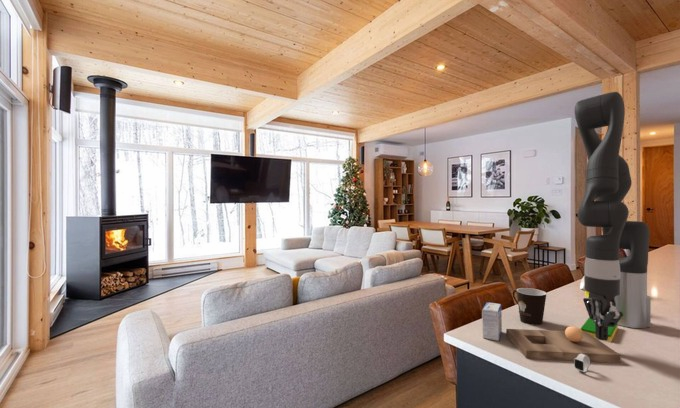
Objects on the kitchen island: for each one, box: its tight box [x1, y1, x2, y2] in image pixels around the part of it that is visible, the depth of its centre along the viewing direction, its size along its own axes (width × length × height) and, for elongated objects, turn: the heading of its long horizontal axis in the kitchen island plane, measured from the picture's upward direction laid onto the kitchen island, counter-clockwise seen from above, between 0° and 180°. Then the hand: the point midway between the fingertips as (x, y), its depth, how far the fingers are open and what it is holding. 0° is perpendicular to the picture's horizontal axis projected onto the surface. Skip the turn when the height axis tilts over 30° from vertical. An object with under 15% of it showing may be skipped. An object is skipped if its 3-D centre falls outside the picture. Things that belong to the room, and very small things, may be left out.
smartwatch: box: [573, 354, 591, 373], centre depth 78 cm, size 4×2×4 cm, turn 118°
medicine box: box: [481, 302, 503, 341], centre depth 99 cm, size 8×4×9 cm, turn 148°
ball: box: [564, 326, 583, 342], centre depth 90 cm, size 4×4×4 cm
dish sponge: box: [580, 317, 619, 343], centre depth 101 cm, size 7×14×2 cm, turn 133°
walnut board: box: [505, 328, 621, 364], centre depth 90 cm, size 22×14×2 cm, turn 82°
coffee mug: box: [512, 287, 547, 326], centre depth 111 cm, size 12×9×10 cm
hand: (601, 339), depth 89 cm, fingers closed
